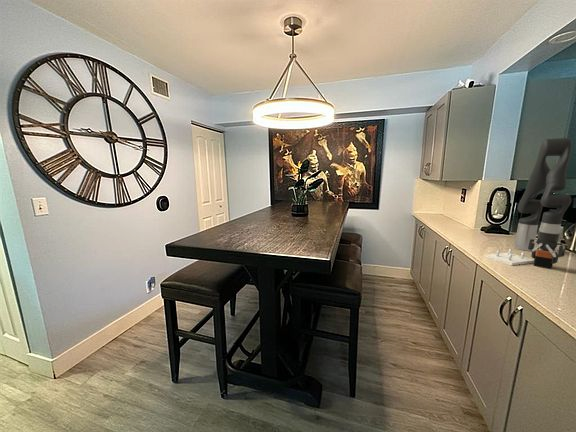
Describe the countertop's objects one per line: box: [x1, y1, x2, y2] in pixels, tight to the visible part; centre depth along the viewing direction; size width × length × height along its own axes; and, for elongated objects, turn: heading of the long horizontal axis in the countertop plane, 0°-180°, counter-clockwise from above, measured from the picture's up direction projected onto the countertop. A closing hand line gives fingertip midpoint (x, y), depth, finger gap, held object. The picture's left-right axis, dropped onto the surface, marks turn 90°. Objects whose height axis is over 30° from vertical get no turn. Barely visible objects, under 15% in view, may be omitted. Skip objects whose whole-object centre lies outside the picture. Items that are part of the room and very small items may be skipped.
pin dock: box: [485, 248, 534, 266], centre depth 141 cm, size 18×14×5 cm
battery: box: [533, 248, 554, 270], centre depth 130 cm, size 4×7×10 cm, turn 46°
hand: (543, 260), depth 131 cm, fingers closed on battery, 8 cm apart
